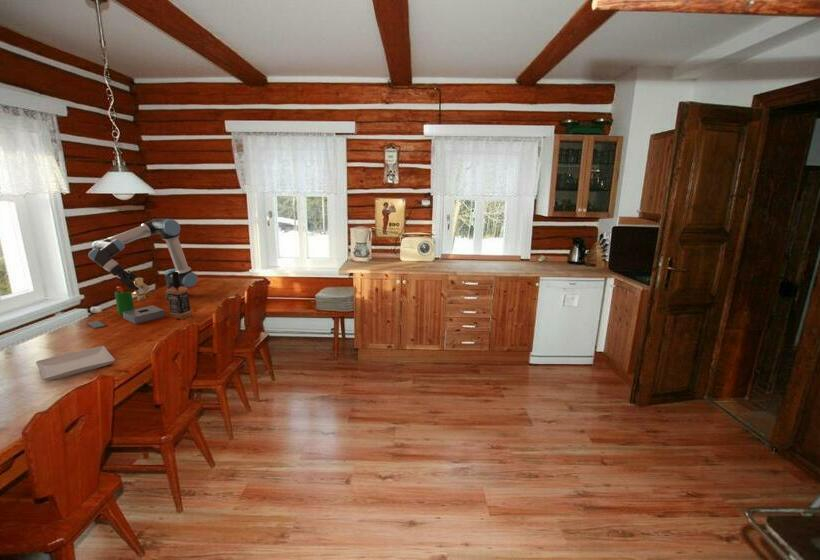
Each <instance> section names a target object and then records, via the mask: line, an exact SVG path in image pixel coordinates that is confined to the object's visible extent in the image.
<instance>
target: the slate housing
mask: <svg viewBox="0 0 820 560" xmlns="http://www.w3.org/2000/svg"><path fill="white" fill-rule="evenodd" d="M165 317H166V312H165V309H163V308H162V307H161V308H160V307H158V306H155V305H153V304H151V305H147V306H143V307H138V308H134V309H133V310H129V311H124V312H123V314H122V318H123V319H124V320H126V321H128V322H130V323H132V324H135V325H136V324H141V323H146V322H149V321H150V322H151V321H153V320H158V319H161V318H165Z"/></svg>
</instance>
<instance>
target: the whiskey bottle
mask: <svg viewBox="0 0 820 560" xmlns="http://www.w3.org/2000/svg"><path fill="white" fill-rule="evenodd" d="M172 277H173V280H172V284H173V287H172V288H170V289H169V290H167V289H166V292H167V294H168V297H169V300H168V305H169V311H170V312H169V317H170V318H174V319H175V320H176V321H183V320H186V319H188V318H191V317H193V313H192V310H191V305H190V300H189V299H190V298H189V294H188V293H189V290H188V287H182V286H181V285H180V280H179V275H178V272H172Z"/></svg>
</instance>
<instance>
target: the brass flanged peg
mask: <svg viewBox="0 0 820 560" xmlns="http://www.w3.org/2000/svg"><path fill="white" fill-rule="evenodd" d="M133 280H134V281H133V283H134V284H135V285H137V286H139V287H140V288H141V289H143V290H144V292H143V293H142V294H141V293H139V292H138V291H136V290H135V289H134V291H133V292H132V296H136V297H137V301H138V302H143V301H145V300H146V294H148V292H149V290H148V291H147V290H145V289H144V284H143V283H144V278H143V277H139V278H134V279H133Z"/></svg>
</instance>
